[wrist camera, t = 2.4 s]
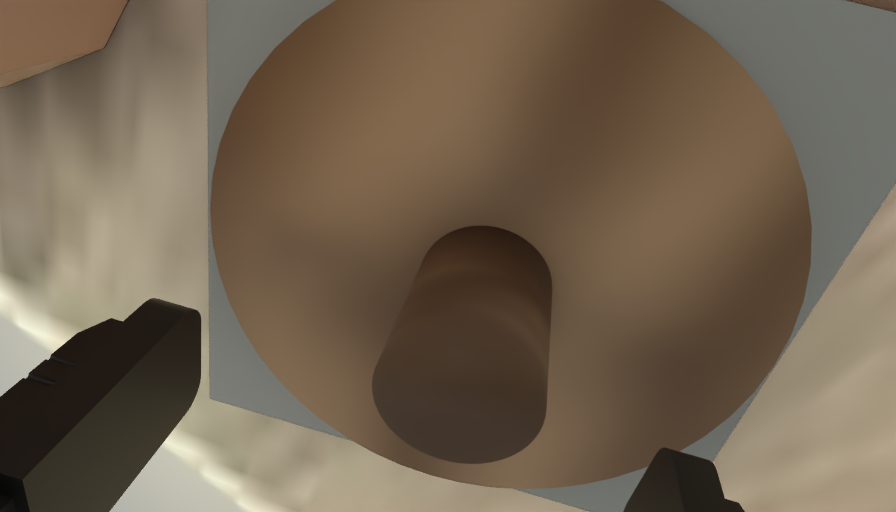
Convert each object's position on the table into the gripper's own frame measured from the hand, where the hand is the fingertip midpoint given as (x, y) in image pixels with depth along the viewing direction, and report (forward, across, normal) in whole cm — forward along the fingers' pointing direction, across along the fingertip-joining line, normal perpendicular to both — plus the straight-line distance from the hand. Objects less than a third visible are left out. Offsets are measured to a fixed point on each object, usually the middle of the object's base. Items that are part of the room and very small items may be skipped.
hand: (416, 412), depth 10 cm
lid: (+5, -1, 0) cm, 5 cm away
